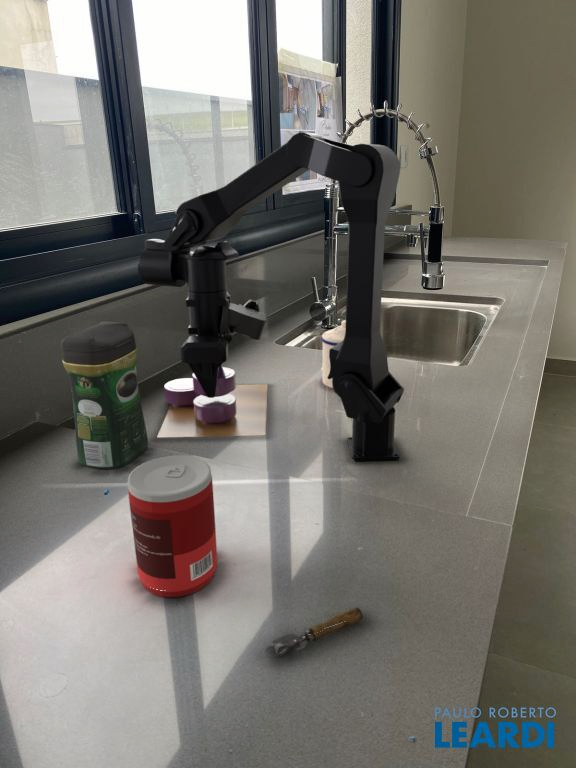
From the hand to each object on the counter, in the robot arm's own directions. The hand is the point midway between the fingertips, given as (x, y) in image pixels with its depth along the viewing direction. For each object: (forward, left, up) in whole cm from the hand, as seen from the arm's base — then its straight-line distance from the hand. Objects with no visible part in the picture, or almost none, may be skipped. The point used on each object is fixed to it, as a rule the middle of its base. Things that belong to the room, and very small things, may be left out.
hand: (213, 389), depth 93 cm
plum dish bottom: (0, 0, -5) cm, 5 cm away
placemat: (+4, 0, -5) cm, 6 cm away
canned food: (-38, 0, -5) cm, 38 cm away
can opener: (-47, -13, -5) cm, 49 cm away
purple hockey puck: (+7, +6, -5) cm, 10 cm away
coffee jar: (-12, +13, -5) cm, 18 cm away
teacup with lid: (+17, -23, -5) cm, 29 cm away
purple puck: (0, 0, 0) cm, 0 cm away
